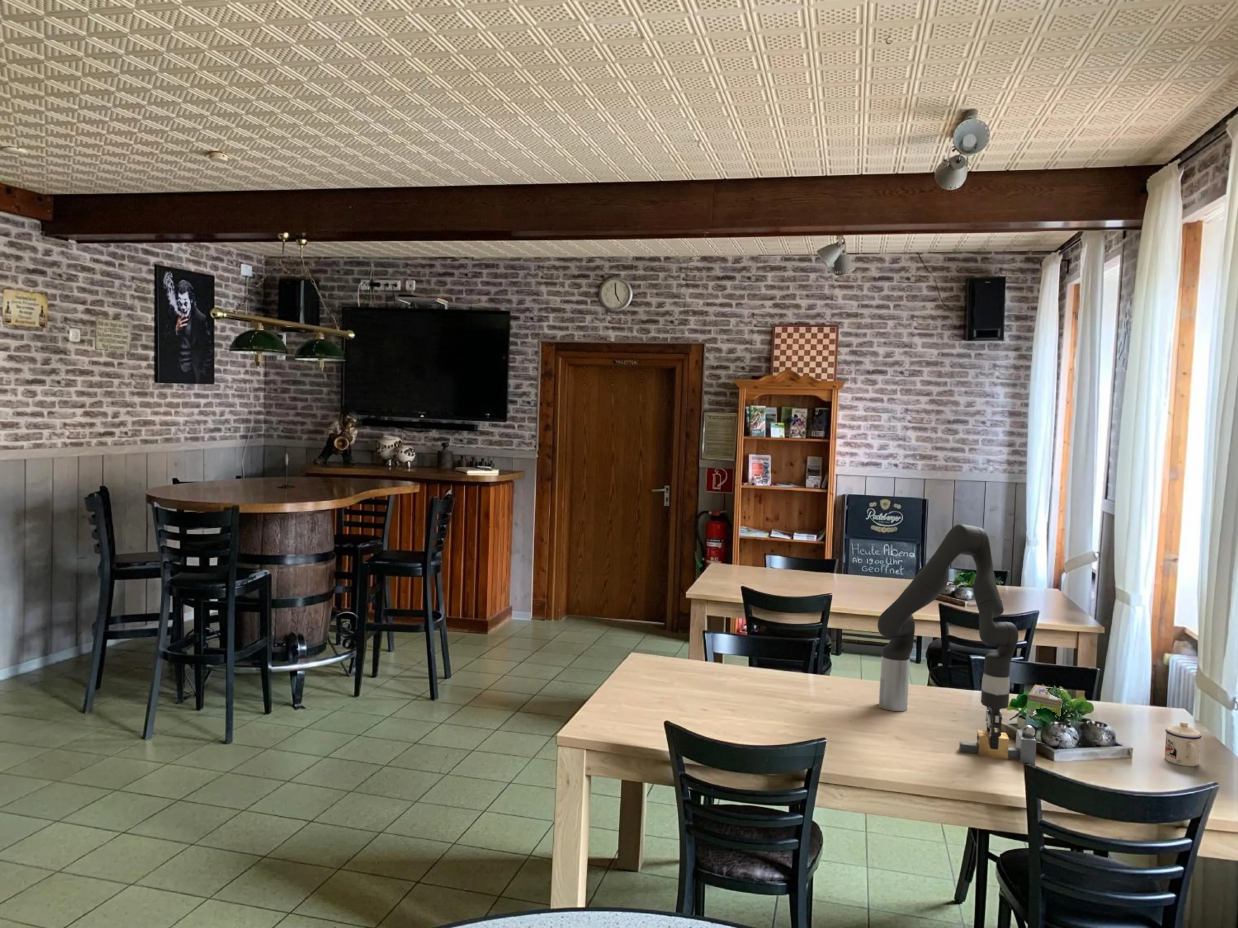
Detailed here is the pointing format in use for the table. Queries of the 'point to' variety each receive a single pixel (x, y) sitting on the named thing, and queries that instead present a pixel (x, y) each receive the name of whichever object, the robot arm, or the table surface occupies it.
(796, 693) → the table surface
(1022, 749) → the coupler rail
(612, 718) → the table surface
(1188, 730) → the teacup with lid
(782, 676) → the table surface
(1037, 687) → the tea box
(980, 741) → the tan wooden block
